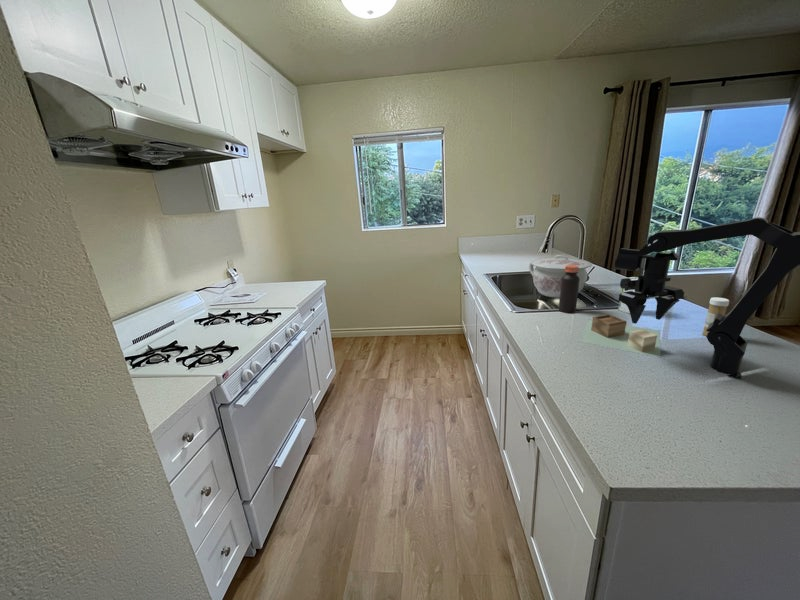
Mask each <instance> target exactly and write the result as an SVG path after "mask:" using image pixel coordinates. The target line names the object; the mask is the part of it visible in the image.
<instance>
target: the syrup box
mask: <svg viewBox="0 0 800 600" xmlns="http://www.w3.org/2000/svg"><path fill="white" fill-rule="evenodd" d="M638 277H639V276H638ZM638 277H637V276H631V277H629V278H630V279H631V281H632V280H638ZM625 278H626V277H624V278H623V279H625ZM628 291H633V292H636V291H635V290H628ZM628 291H625V290H624V288H623V289H622V288H621V290H620V294H621V293H622V292H628ZM636 293H640V294H641V292H636ZM618 302H619V303H618V306H617V307H618V308H617V310H618V311H619V312H623V313H625V314H629V315H630V311H629V309H628V307H627V305H626V304H624V303H622V302H621V301H618Z"/></svg>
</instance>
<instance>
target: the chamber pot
mask: <svg viewBox="0 0 800 600" xmlns="http://www.w3.org/2000/svg"><path fill="white" fill-rule="evenodd" d="M567 265H575V266H578V273H577V276H578V277H579V278H580V280H579V288H578V294H579V293H580V292H581V291H582V290H583V288H584V287H585V284H586V282H587V279H588V272H587V270H586V269H588V268H591V267H592V266H593V263H592V262H591V261H588V260H585V259H581V258H576V257H570V256H569V257H567V256H566V255H565V254H556V255H554V256H549V257H548V256H547V257H541V258H533V259H532V260H531V261H530V262H529V265H528V269H529V272H530V275H531V276H532V280H533V285H534V286H535V288H536V289H537V292H538V293H539V294H540V295H542V296H545V297H548V298H550V299H551V298H552V299H560V291H561V281H562V277H563V276H564V275H565V274H566V273H565V266H567Z"/></svg>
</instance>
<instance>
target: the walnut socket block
mask: <svg viewBox="0 0 800 600" xmlns="http://www.w3.org/2000/svg"><path fill="white" fill-rule="evenodd" d="M591 320H592V328H591V331H594V332H596V333H598V334H600V335H602V336H604V337H606V338H610V337H616V336H621V335H624V334H625V328H626V325H627V322H628V321H627V320H624V319H622V318H620V317H617V316H614V315H611V314H603V315H597V316H596V315H595V316H592V319H591Z"/></svg>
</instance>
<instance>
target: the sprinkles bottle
mask: <svg viewBox="0 0 800 600" xmlns="http://www.w3.org/2000/svg"><path fill="white" fill-rule="evenodd" d="M729 305H730V299H728V298H725V297H717V296H715V297H711V298H710V300H709V306H708V310H707V313H706V317H705V320H704V327H703V331H702V332H701V333H702V335H703V336H704V337H707V334H708V332H709V331H706V330H707V328H708V326H709V325H710V323H712V322H714V321H715V319H716V317H717V315H718V313H720V314H722V315H723V316H725V315H726V314H727V313H726V312H727V309H728V306H729Z"/></svg>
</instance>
